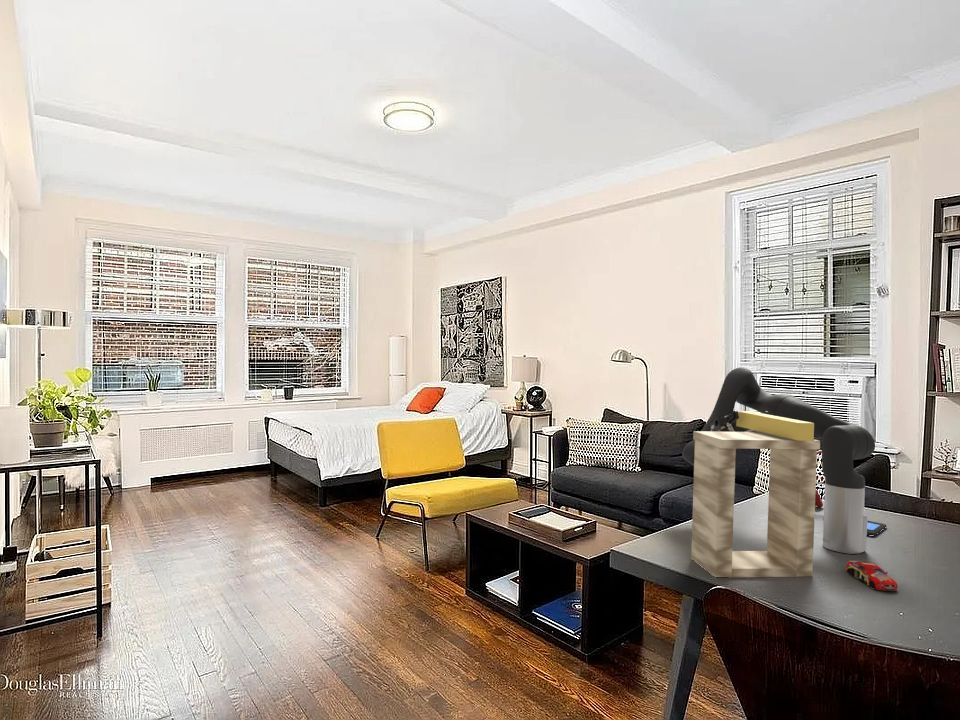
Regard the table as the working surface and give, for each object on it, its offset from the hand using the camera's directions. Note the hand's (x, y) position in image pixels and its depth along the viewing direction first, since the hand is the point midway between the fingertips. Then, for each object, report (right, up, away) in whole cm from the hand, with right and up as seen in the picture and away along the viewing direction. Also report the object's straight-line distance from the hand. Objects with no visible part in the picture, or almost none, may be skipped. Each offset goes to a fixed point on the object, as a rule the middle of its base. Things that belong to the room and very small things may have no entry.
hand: (752, 414), depth 158 cm
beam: (+1, -4, -9) cm, 10 cm away
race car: (+18, -37, -20) cm, 46 cm away
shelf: (-7, -36, -13) cm, 39 cm away
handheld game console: (+42, -37, +25) cm, 62 cm away
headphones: (+46, -37, +46) cm, 75 cm away
